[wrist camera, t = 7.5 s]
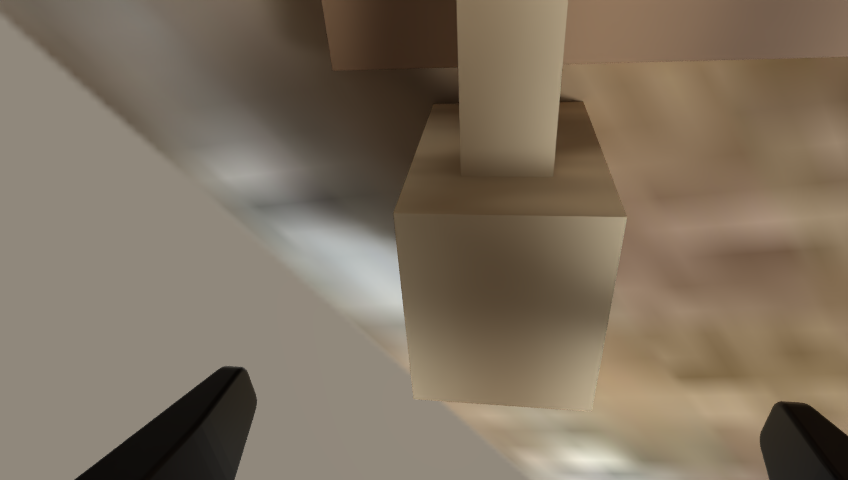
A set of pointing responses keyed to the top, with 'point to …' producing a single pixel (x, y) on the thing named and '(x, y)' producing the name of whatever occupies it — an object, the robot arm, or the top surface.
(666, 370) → the top surface
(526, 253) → the gauge
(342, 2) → the board
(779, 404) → the robot arm
